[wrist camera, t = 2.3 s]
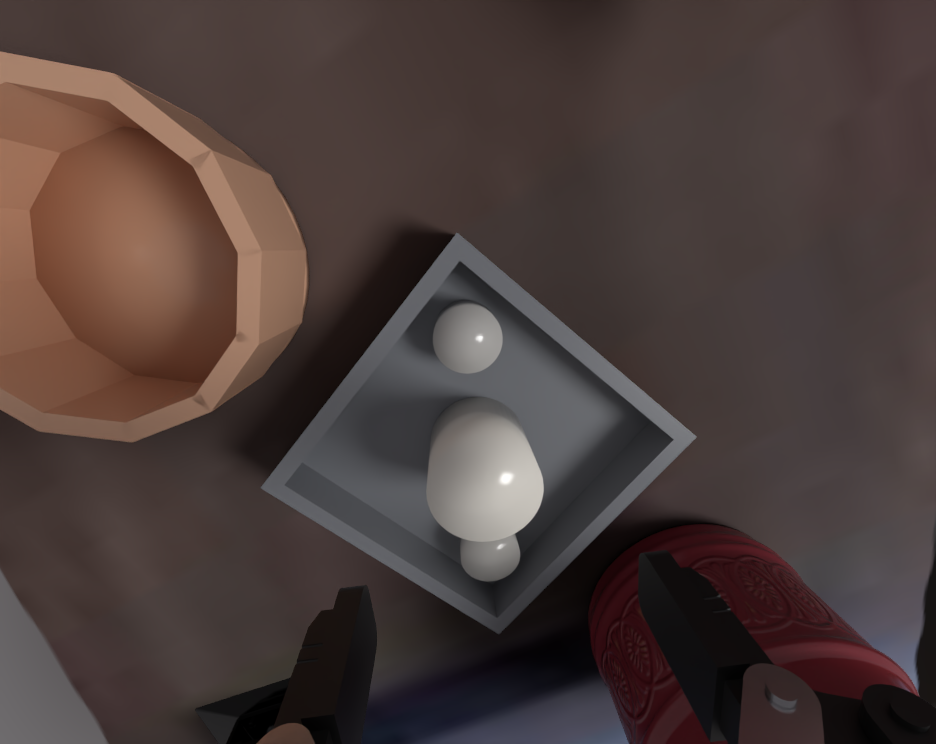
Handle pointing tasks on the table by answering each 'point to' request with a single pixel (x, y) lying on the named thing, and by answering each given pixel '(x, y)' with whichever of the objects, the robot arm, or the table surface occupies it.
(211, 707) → the black bracket
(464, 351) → the small pebble
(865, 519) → the table surface
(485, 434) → the pale stone
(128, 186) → the terracotta bowl
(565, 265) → the table surface
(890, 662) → the canister
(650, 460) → the parts tray
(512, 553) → the small pebble
